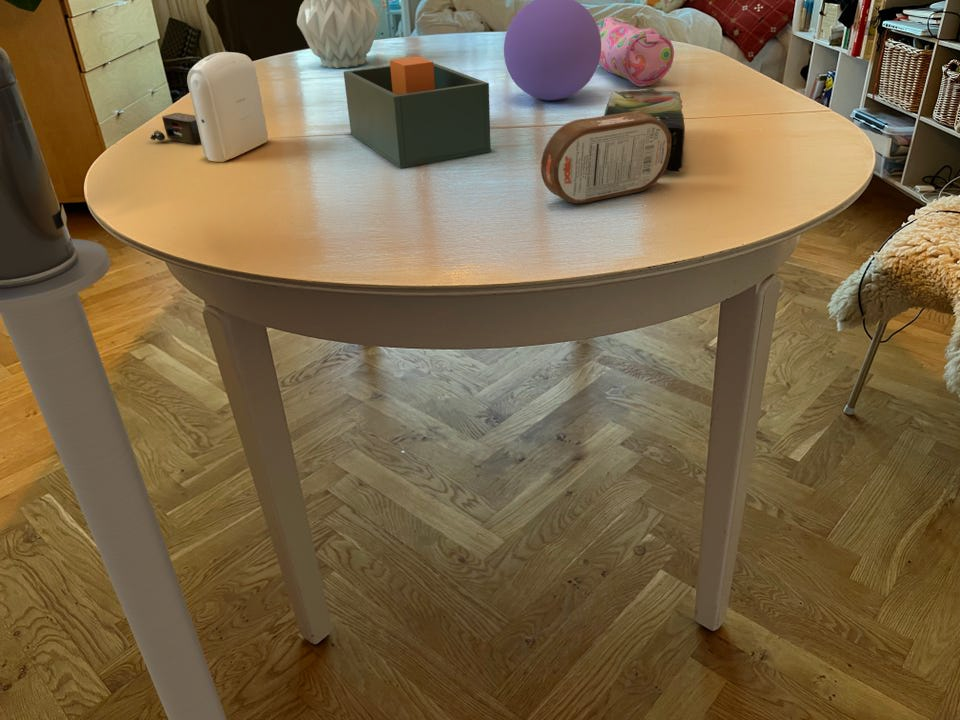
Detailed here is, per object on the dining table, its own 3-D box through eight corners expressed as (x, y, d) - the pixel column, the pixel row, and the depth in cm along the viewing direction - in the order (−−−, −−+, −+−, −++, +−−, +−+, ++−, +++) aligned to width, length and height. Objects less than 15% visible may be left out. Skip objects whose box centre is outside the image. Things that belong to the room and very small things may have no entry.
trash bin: (400, 168, 93) (393, 96, 88) (350, 134, 107) (343, 71, 103) (490, 151, 98) (489, 83, 93) (432, 121, 112) (428, 60, 107)
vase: (329, 76, 143) (314, -34, 133) (289, 65, 154) (273, -37, 144) (400, 63, 152) (391, -41, 142) (357, 54, 163) (346, -44, 153)
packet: (410, 145, 100) (404, 65, 94) (396, 137, 103) (389, 59, 98) (438, 140, 101) (433, 61, 96) (423, 132, 105) (417, 55, 100)
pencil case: (582, 67, 142) (584, 14, 138) (628, 63, 144) (632, 11, 139) (620, 91, 124) (624, 31, 120) (673, 86, 126) (679, 28, 121)
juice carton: (604, 128, 105) (607, 82, 101) (677, 130, 103) (682, 83, 100) (595, 176, 88) (599, 123, 85) (682, 179, 86) (689, 125, 83)
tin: (655, 180, 86) (661, 104, 81) (672, 188, 83) (680, 110, 79) (538, 204, 81) (539, 123, 76) (553, 213, 78) (554, 131, 74)
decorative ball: (573, 85, 129) (575, -13, 122) (615, 103, 117) (622, -4, 109) (491, 94, 125) (488, -6, 117) (526, 115, 113) (526, 5, 105)
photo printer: (226, 163, 97) (205, 61, 91) (200, 161, 99) (176, 60, 92) (274, 142, 105) (257, 47, 99) (248, 139, 107) (230, 46, 100)
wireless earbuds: (178, 134, 110) (173, 111, 109) (210, 140, 107) (205, 117, 105) (151, 142, 107) (145, 119, 105) (183, 149, 104) (177, 125, 102)
